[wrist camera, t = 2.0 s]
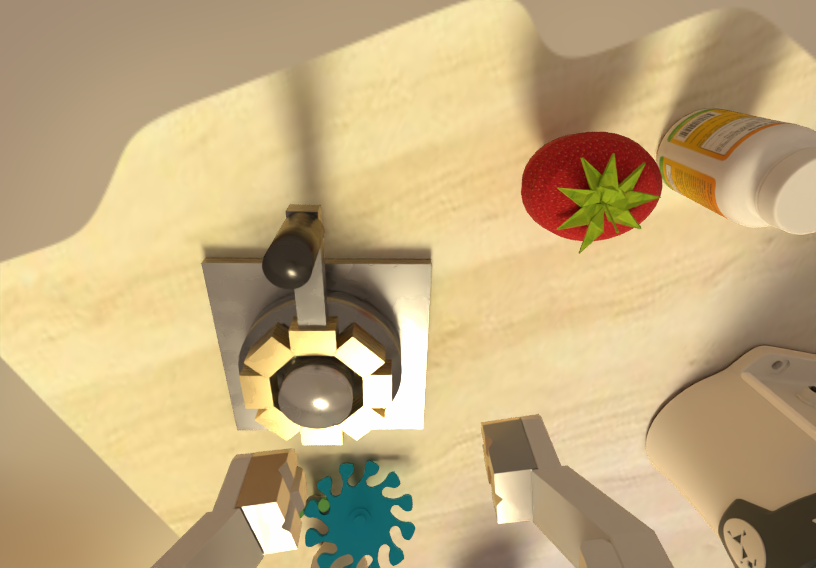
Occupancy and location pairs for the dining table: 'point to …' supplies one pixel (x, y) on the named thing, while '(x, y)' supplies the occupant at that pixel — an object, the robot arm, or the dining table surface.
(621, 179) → the strawberry
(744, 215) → the supplement bottle
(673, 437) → the robot arm
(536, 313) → the dining table surface
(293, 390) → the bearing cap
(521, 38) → the dining table surface
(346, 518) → the teal virus model
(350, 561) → the salt shaker
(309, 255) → the ring nut
